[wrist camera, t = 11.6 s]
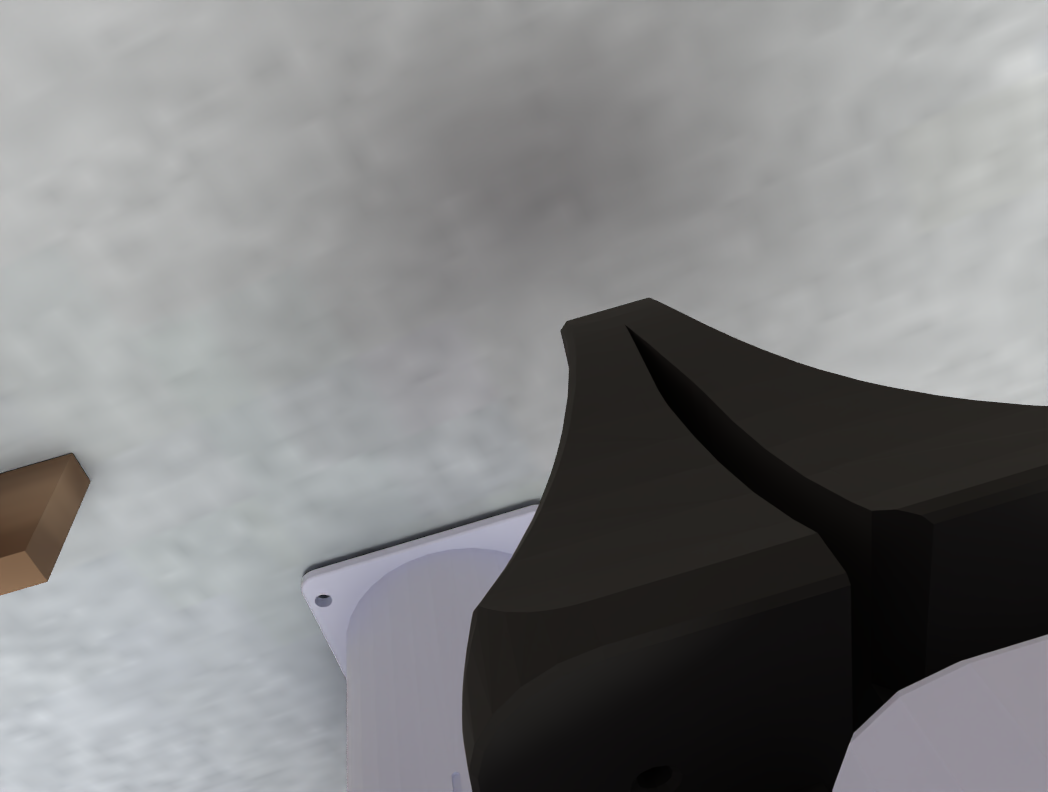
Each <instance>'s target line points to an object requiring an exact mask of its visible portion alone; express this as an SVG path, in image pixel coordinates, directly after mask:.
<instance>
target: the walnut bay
mask: <svg viewBox="0 0 1048 792" xmlns="http://www.w3.org/2000/svg"><path fill="white" fill-rule="evenodd" d="M89 484H90V480H89V479H88V477H87V476H86V474H85V472H84V471H83V469H82V468H81V466H80V465H79V463H78V461H77V460H76V458H75V457H74V455H73V454H72V453H71V454H68V455H64V456H61V457H57V458H54V459H50V460H47V461H43V462H40V463H36V464H33V465H29V466H26V467H23V468H19V469H16V470H12V471H9V472H5V473H2V474H0V595H3V594H7V593H10V592H14V591H17V590H20V589H24V588H27V587H31V586H34V585H38V584H41V583H44V582H48V579H49V577H50V575H51V572H52V570H53V568H54V565H55V563H56V561H57V558H58V556H59V554H60V551H61V549H62V547H63V544H64V542H65V540H66V537H67V535H68V533H69V530H70V528H71V526H72V523H73V521H74V519H75V516H76V514H77V512H78V509H79V507H80V505H81V502H82V500H83V498H84V496H85V493H86V491H87V489H88V486H89Z"/></svg>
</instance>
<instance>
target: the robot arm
mask: <svg viewBox="0 0 1048 792" xmlns="http://www.w3.org/2000/svg"><path fill="white" fill-rule="evenodd" d="M561 335H562V339H563V343H564V348H565V352H566V357H567V361H568V366H569V383H568V398H567V405H566V412H565V418H564V424H563V430H562V435H561V439H560V444H559V448H558V452H557V455H556V459H555V462H554V465H553V469H552V472H551V475H550V477H549V480H548V483H547V485H546V488H545V491H544V493H543V496H542V498H541V501H540V503H539V504H537V505H531V506H528V507H524V508H521V509H518V510H514V511H511V512H507V513H504V514H501V515H497V516H494V517H491V518H487V519H484V520H480V521H477V522H474V523H470V524H467V525H464V526H460V527H457V528H453V529H450V530H447V531H443V532H440V533H437V534H433V535H430V536H426V537H423V538H420V539H416V540H413V541H409V542H406V543H403V544H399V545H396V546H393V547H389V548H386V549H382V550H379V551H376V552H372V553H369V554H366V555H362V556H359V557H355V558H352V559H349V560H345V561H342V562H339V563H335V564H332V565H328V566H325V567H322V568H318V569H315V570H312V571H310V572H308V573H306V574H305V575H304V576H303V579H302V582H301V590H302V594H303V596H304V598H305V600H306V602H307V604H308V606H309V608H310V610H311V612H312V614H313V616H314V617H315V619H316V621H317V623H318V625H319V627H320V629H321V631H322V633H323V635H324V637H325V639H326V641H327V643H328V645H329V647H330V649H331V651H332V653H333V655H334V657H335V659H336V661H337V662H338V664H339V666H340V668H341V670H342V672H343V674H344V676H345V678H346V680H347V792H1048V406H1033V405H1020V404H1009V403H998V402H988V401H977V400H968V399H960V398H953V397H945V396H938V395H932V394H926V393H920V392H915V391H909V390H904V389H898V388H892V387H887V386H882V385H878V384H873V383H869V382H864V381H860V380H856V379H853V378H849V377H845V376H842V375H838V374H834V373H830V372H827V371H823V370H819V369H816V368H813V367H810V366H807V365H804V364H800V363H797V362H795V361H792V360H789V359H787V358H784V357H781V356H778V355H776V354H773V353H770V352H768V351H765V350H762V349H760V348H757V347H755V346H752V345H750V344H748V343H745V342H743V341H740V340H738V339H736V338H734V337H731V336H729V335H727V334H725V333H722V332H720V331H718V330H716V329H714V328H712V327H709V326H707V325H705V324H703V323H701V322H699V321H697V320H695V319H693V318H691V317H689V316H687V315H685V314H683V313H681V312H679V311H677V310H675V309H673V308H671V307H669V306H666V305H664V304H662V303H660V302H658V301H656V300H653V299H651V298H646V299H642V300H639V301H635V302H632V303H628V304H625V305H621V306H618V307H614V308H611V309H607V310H604V311H600V312H597V313H594V314H590V315H587V316H583V317H580V318H576V319H573V320H569V321H567V322H566V323H565V325H564V326H563V328H562V329H561ZM324 594H325V595H329V597H328V598H319V597H317V596H319V595H324Z"/></svg>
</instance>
